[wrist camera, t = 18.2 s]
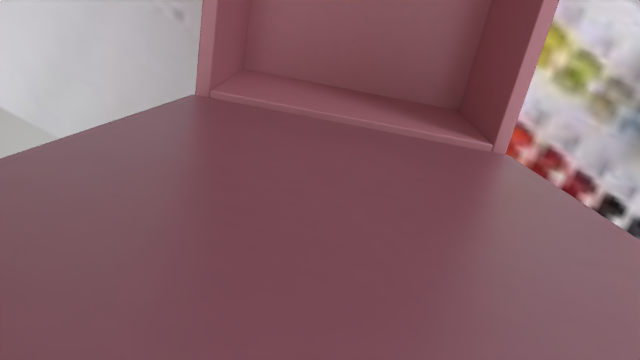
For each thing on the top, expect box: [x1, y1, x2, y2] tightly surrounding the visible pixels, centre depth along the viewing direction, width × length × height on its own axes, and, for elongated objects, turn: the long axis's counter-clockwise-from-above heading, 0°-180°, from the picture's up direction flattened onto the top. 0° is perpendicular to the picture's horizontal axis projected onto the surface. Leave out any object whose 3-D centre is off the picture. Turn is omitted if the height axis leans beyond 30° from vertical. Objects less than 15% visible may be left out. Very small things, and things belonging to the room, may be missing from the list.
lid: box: [0, 95, 640, 360], centre depth 11 cm, size 16×13×1 cm
